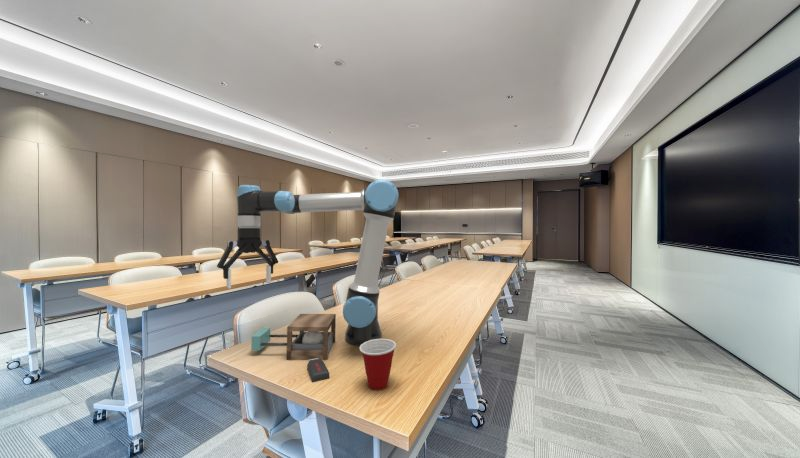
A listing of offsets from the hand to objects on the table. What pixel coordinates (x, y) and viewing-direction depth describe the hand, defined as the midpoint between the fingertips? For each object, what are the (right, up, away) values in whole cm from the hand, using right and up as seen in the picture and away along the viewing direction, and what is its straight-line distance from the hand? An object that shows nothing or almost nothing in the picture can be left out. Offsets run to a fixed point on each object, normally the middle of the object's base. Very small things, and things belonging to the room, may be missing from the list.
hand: (249, 285), depth 106 cm
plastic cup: (+49, -26, -21) cm, 59 cm away
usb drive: (+29, -26, -14) cm, 41 cm away
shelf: (+23, -25, +2) cm, 34 cm away
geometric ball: (+23, -25, +2) cm, 34 cm away
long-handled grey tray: (+16, -24, +1) cm, 29 cm away
